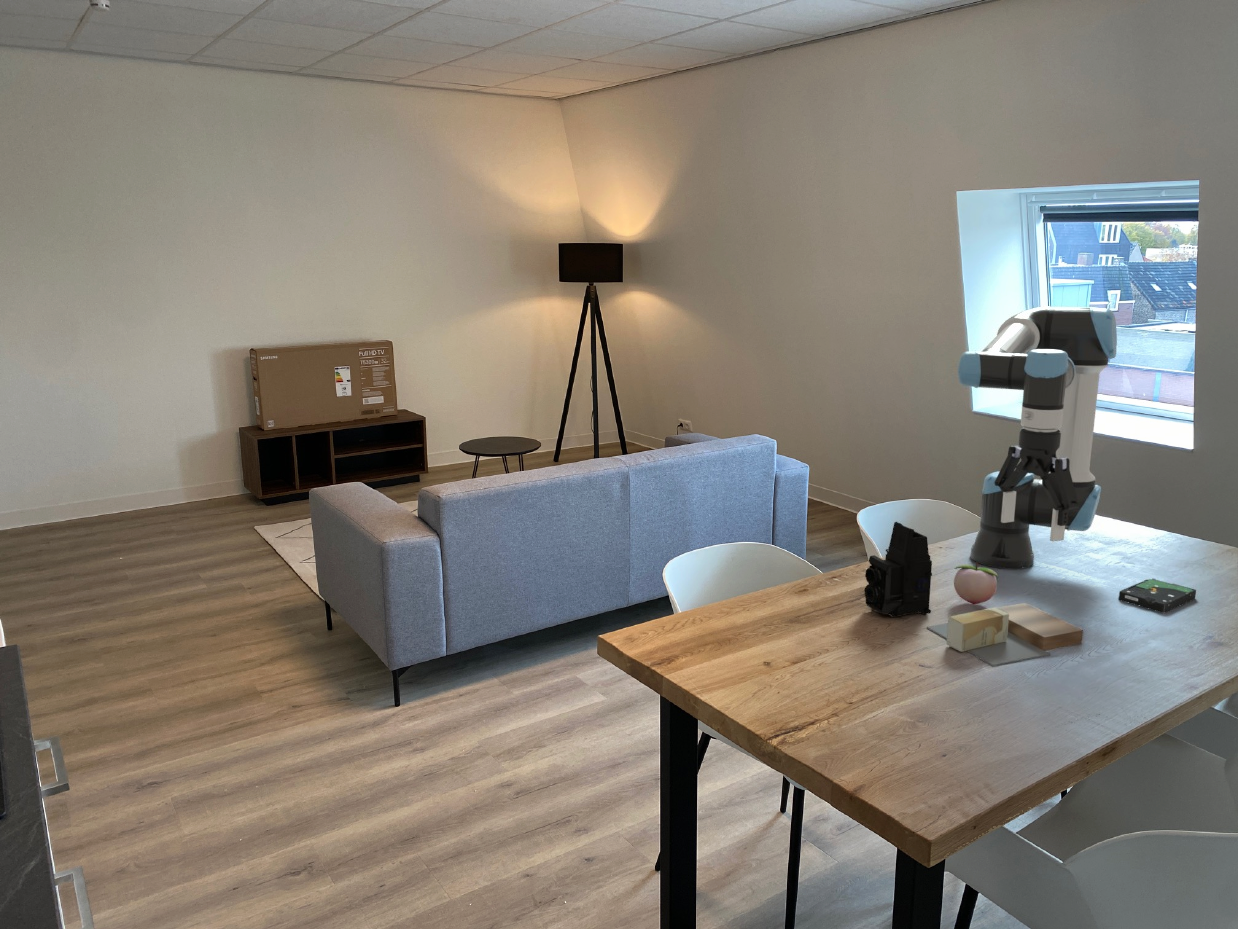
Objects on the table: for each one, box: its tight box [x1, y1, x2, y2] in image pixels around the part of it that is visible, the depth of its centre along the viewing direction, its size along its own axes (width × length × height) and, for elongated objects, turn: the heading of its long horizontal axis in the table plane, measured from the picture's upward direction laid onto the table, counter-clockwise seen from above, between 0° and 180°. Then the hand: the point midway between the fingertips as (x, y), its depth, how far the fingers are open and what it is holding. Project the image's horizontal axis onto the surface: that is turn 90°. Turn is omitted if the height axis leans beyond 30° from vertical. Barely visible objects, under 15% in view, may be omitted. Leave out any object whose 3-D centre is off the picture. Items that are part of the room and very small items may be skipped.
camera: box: [864, 521, 933, 618], centre depth 205 cm, size 10×14×20 cm
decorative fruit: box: [953, 562, 999, 605], centre depth 209 cm, size 9×8×10 cm
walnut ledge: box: [995, 602, 1084, 652], centre depth 195 cm, size 16×10×3 cm, turn 19°
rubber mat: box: [926, 622, 1051, 667], centre depth 191 cm, size 20×14×1 cm
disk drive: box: [1118, 578, 1197, 614], centre depth 213 cm, size 10×3×15 cm
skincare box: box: [946, 607, 1009, 652], centre depth 189 cm, size 6×4×12 cm
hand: (1031, 530), depth 189 cm, fingers open, 13 cm apart
